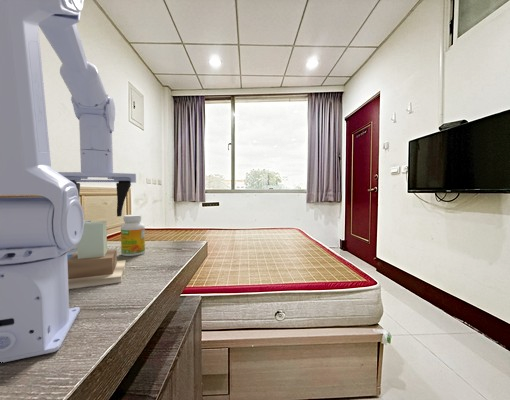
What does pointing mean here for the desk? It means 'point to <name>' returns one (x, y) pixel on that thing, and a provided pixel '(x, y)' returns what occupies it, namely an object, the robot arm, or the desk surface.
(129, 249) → the supplement bottle
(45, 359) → the desk surface
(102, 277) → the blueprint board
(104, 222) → the sage pillar
